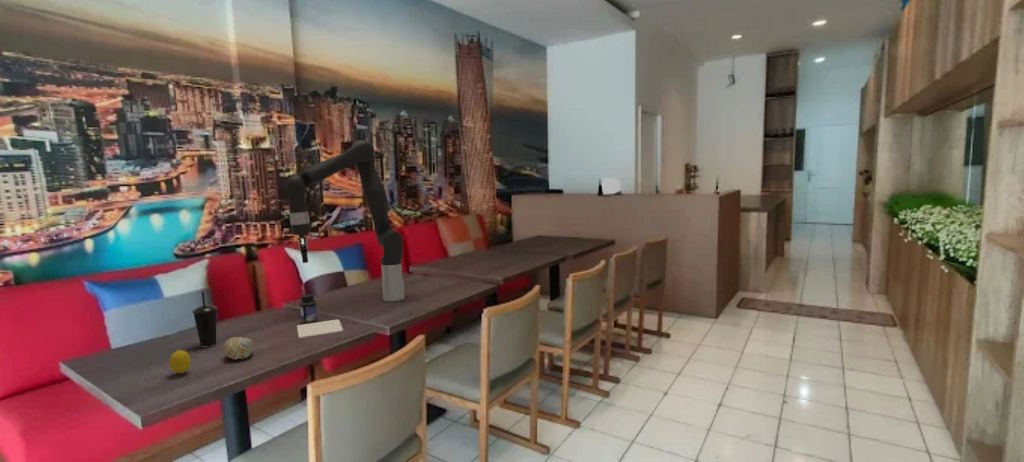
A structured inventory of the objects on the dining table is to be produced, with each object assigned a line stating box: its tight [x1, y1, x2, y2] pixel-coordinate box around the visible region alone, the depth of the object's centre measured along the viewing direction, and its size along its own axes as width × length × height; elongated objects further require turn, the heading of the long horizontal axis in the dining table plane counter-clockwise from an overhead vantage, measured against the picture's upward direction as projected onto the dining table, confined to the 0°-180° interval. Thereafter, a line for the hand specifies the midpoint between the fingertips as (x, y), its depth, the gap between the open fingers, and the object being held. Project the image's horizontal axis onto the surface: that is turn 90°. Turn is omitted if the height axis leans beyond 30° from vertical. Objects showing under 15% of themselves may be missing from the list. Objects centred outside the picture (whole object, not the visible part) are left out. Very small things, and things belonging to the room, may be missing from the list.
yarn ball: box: [223, 336, 254, 361], centre depth 172 cm, size 10×10×10 cm
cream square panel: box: [296, 318, 344, 339], centre depth 199 cm, size 16×15×1 cm
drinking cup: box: [191, 291, 218, 347], centre depth 183 cm, size 8×8×20 cm
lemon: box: [169, 349, 192, 374], centre depth 159 cm, size 6×6×8 cm
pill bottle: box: [299, 293, 319, 324], centre depth 208 cm, size 6×6×11 cm
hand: (305, 262), depth 218 cm, fingers closed
